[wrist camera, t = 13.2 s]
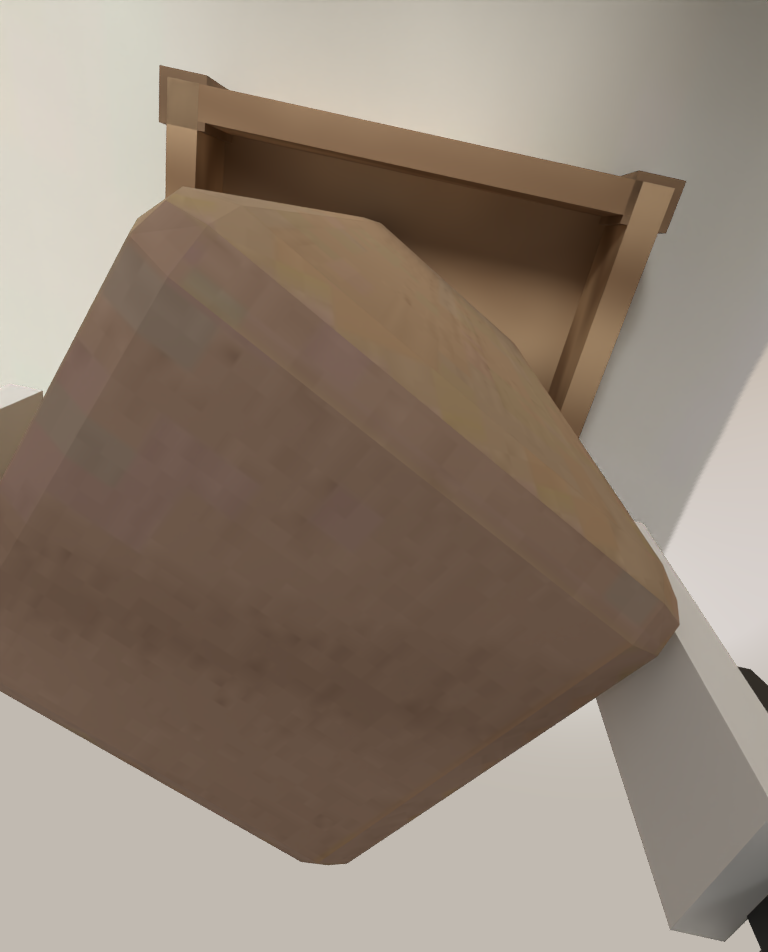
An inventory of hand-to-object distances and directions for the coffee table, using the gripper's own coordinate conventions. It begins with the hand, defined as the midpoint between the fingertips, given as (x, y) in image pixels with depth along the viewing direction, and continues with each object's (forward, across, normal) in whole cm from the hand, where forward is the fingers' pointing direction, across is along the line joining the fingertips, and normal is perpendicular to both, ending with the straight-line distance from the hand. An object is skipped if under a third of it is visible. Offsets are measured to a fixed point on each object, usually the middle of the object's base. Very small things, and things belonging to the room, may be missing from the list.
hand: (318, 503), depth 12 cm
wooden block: (+16, 0, -1) cm, 16 cm away
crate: (+17, 0, -1) cm, 17 cm away
